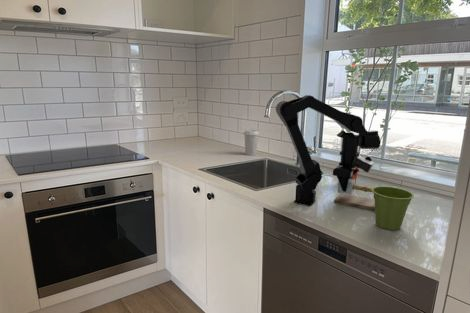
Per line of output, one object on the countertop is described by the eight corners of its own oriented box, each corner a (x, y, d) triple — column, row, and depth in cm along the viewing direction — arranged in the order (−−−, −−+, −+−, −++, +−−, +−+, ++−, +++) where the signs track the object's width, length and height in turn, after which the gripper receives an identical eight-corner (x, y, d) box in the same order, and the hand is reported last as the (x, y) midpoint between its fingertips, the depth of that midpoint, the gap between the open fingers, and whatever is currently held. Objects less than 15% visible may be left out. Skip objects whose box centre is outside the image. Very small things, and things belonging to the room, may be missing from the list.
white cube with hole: (337, 192, 125) (338, 180, 124) (341, 189, 129) (341, 177, 128) (351, 194, 123) (352, 182, 122) (354, 191, 127) (355, 179, 126)
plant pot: (396, 237, 97) (401, 201, 94) (360, 223, 106) (364, 190, 104) (416, 227, 104) (421, 193, 101) (381, 215, 113) (384, 183, 111)
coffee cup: (258, 156, 203) (259, 131, 200) (243, 155, 203) (243, 131, 200) (258, 152, 212) (258, 129, 209) (243, 152, 212) (243, 129, 209)
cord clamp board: (333, 202, 125) (335, 183, 123) (340, 196, 132) (341, 177, 130) (385, 212, 115) (388, 192, 114) (389, 205, 123) (391, 185, 121)
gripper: (367, 156, 110) (363, 200, 114) (377, 147, 126) (373, 187, 129) (334, 152, 116) (330, 194, 120) (347, 144, 132) (344, 182, 135)
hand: (346, 189), depth 126 cm, fingers closed on white cube with hole, 5 cm apart
